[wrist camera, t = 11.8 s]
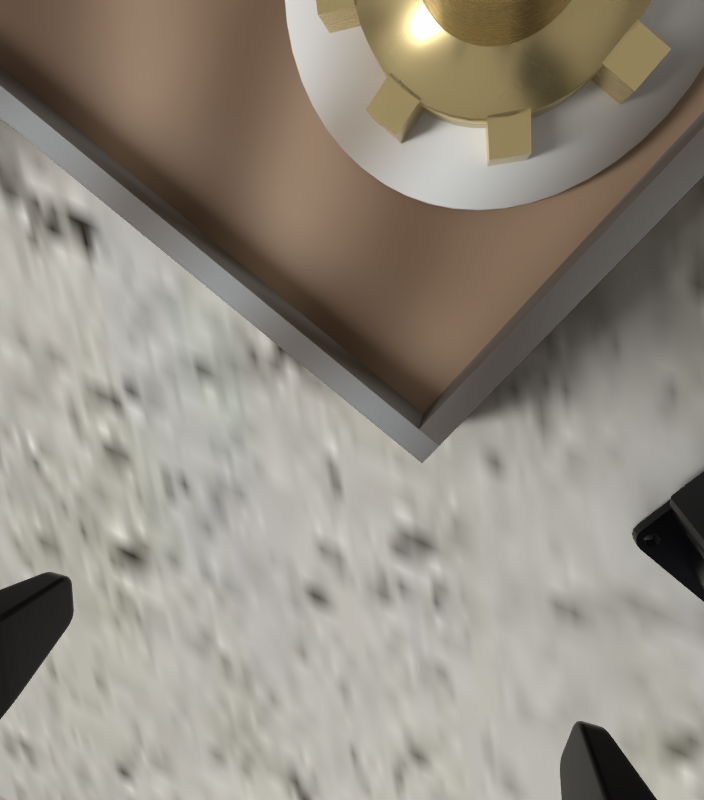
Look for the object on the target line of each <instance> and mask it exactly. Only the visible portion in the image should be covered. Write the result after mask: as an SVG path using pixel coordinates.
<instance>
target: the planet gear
mask: <svg viewBox="0 0 704 800" xmlns="http://www.w3.org/2000/svg"><path fill="white" fill-rule="evenodd" d="M650 2H651V0H316V4H317V12H318V16H319V17H320V19H321V20H322V22H323V23H324V25H325V26H326V28H327V30H328V31H329V33H334V32H338V31H342V30H346V29H350V28H354V27H359V26H361V28H362V30H363V32H364V35H365V37H366V40H367V42H368V44H369V46H370V48H371V50H372V52H373V54H374V56H375V58H376V60H377V62H378V64H379V65H380V67H381V69H382V71H383V72H384V74H385V76H386V77H387V78H386V80H385V81H384V83H383V84H382V86H381V87H380V89H379V90H378V92H377V93H376V95H375V96H374V98H373V99H372V101H371V103H370V104H369V106H368V107H367V109H366V111H367V112H368V114H369V115H370V116H371V117H372V119H373V120H374V121H375V122H376V123H378V124H379V125H380V126H381V127H382V128H384V129H385V130H386V131H387V132H388V133H389V134H391V135H392V136H393V137H394V138H395V139H397V140H398V141H399V142H400V143H401V144H402V142H403V141H404V139H405V138H406V136H407V135H408V134H409V132H410V131H411V129H412V128H413V127H414V125H415V124H416V122H417V121H418V119H419V118H420V117H421V115H422V114H423V112H424V113H426V114H428V115H430V116H432V117H433V118H435V119H437V120H440V121H443V122H446V123H449V124H452V125H457V126H462V127H468V128H486V150H487V166H493V165H500V164H506V163H512V162H518V161H524V160H527V158H528V157H529V156H530V155H531V153H532V149H531V119H532V118H535V117H537V116H540V115H542V114H544V113H546V112H548V111H549V110H551V109H553V108H555V107H557V106H559V105H560V104H562V103H563V102H564V101H566V100H567V99H569V98H570V97H572V96H573V95H574V94H576V93H577V92H578V91H579V90H581V89H582V88H583V87H584V86H585V85H586V84H587V83H588V82H590V81H591V80H592V81H593V82H594V83H595V84H597V85H598V86H599V87H600V88H601V89H602V90H604V91H605V92H606V93H607V94H608V95H609V96H610V97H612V98H613V99H614V100H615V101H616V102H617V103H619V104H621V103H622V102H623V101H624V100H625V99H626V98H628V97H629V96H630V95H631V94H632V93H634V92H635V91H636V89H637V88H638V87H639V86H640V85H641V84H642V82H643V81H644V80H645V79H646V78H647V77H648V75H649V74H650V73H651V72H652V71H653V70H654V68H655V67H656V66H657V65H658V64H659V63H660V61H661V60H662V59H663V58H664V57H665V56H666V54H667V53H668V52H669V51H670V50H671V48H670V47H669V46H667V45H666V44H665V43H664V42H663V41H662V40H661V39H659V38H658V37H657V36H656V35H655V34H654V33H653V32H651V31H650V30H649V29H648V28H647V27H646V26H645V25H643V24H642V23H641V22H640V19H641V17H642V16H643V14H644V12H645V10H646V9H647V7H648V5H649V4H650Z"/></svg>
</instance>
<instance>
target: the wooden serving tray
mask: <svg viewBox="0 0 704 800" xmlns="http://www.w3.org/2000/svg"><path fill="white" fill-rule="evenodd" d="M640 22H641V23H642V24H643V25H645V26H646V27H647V28H648V29H649V30H650V31H651V32H653V33H654V34H655V35H656V36H657V37H658V38H659V39H661V40H662V41H663V42H664V43H665V44H666V45H667V46H669V47H670V48H671V50H670V51H669V52H668V53H667V54H666V56H665V57H664V58H663V59H662V60H661V61H660V63H659V64H658V65H657V66H656V67H655V68H654V70H653V71H652V72H651V73H650V74H649V75H648V77H647V78H646V79H645V80H644V81H643V82H642V84H641V85H640V86H639V87H638V88H637V89H636V91H635V92H634V93H632V94H631V95H630V96H629V97H628V98H626V99H625V100H624V101H623V102H622V103H621V104H619V103H617V102H616V101H615V100H614V99H613V98H612V97H610V96H609V95H608V94H607V93H606V92H605V91H604V90H602V89H601V88H600V87H599V86H598V85H597V84H595V83H594V82H593V81H592V80H591V81H590V82H588V83H587V84H586V85H585V86H584V87H583V88H582V89H581V90H579V91H578V92H577V93H576V94H574V95H573V96H572V97H570V98H569V99H567V100H566V101H564V102H563V103H562V104H560V105H559V106H557V107H555V108H553V109H551V110H549V111H548V112H546V113H544V114H542V115H540V116H537V117H535V118H532V119H531V149H532V153H531V155H530V156H529V157H528V158H527V160H524V161H518V162H512V163H506V164H500V165H493V166H487V150H486V128H468V127H462V126H457V125H452V124H449V123H446V122H443V121H440V120H437V119H435V118H433V117H432V116H430V115H428V114H426V113H424V112H423V114H422V115H421V117H420V118H419V119H418V121H417V122H416V124H415V125H414V127H413V128H412V129H411V131H410V132H409V134H408V135H407V136H406V138H405V139H404V141H403V142H402V144H401V143H400V142H399V141H398V140H397V139H395V138H394V137H393V136H392V135H391V134H389V133H388V132H387V131H386V130H385V129H384V128H382V127H381V126H380V125H379V124H378V123H376V122H375V121H374V120H373V119H372V117H371V116H370V115H369V114H368V112H367V111H366V109H367V107H368V106H369V104H370V103H371V101H372V99H373V98H374V96H375V95H376V93H377V92H378V90H379V89H380V87H381V86H382V84H383V83H384V81H385V80H386V78H387V77H386V76H385V74H384V72H383V71H382V69H381V67H380V65H379V64H378V62H377V60H376V58H375V56H374V54H373V52H372V50H371V48H370V46H369V44H368V42H367V40H366V37H365V35H364V32H363V30H362V28H361V26H359V27H354V28H350V29H346V30H342V31H338V32H334V33H329V31H328V30H327V28H326V26H325V25H324V23H323V22H322V20H321V19H320V17H319V16H318V12H317V4H316V0H0V118H1V119H3V120H4V121H5V122H6V123H7V124H9V125H10V126H11V127H12V128H14V129H15V130H16V131H17V132H18V133H20V134H21V135H22V136H23V137H25V138H26V139H27V140H28V141H29V142H31V143H32V144H33V145H34V146H36V147H37V148H38V149H39V150H40V151H42V152H43V153H44V154H45V155H46V156H48V157H49V158H50V159H51V160H53V161H54V162H55V163H56V164H57V165H59V166H60V167H61V168H62V169H64V170H65V171H66V172H67V173H68V174H70V175H71V176H72V177H73V178H75V179H76V180H77V181H78V182H79V183H81V184H82V185H83V186H84V187H86V188H87V189H88V190H89V191H90V192H92V193H93V194H94V195H95V196H97V197H98V198H99V199H100V200H101V201H103V202H104V203H105V204H106V205H108V206H109V207H110V208H111V209H112V210H114V211H115V212H116V213H117V214H119V215H120V216H121V217H122V218H123V219H125V220H126V221H127V222H128V223H129V224H131V225H132V226H133V227H134V228H136V229H137V230H138V231H139V232H140V233H142V234H143V235H144V236H145V237H147V238H148V239H149V240H150V241H151V242H153V243H154V244H155V245H156V246H158V247H159V248H160V249H161V250H162V251H164V252H165V253H166V254H167V255H169V256H170V257H171V258H172V259H173V260H175V261H176V262H177V263H178V264H180V265H181V266H182V267H183V268H184V269H186V270H187V271H188V272H189V273H191V274H192V275H193V276H194V277H195V278H197V279H198V280H199V281H200V282H202V283H203V284H204V285H205V286H206V287H208V288H209V289H210V290H211V291H212V292H214V293H215V294H216V295H217V296H219V297H220V298H221V299H222V300H223V301H225V302H226V303H227V304H228V305H230V306H231V307H232V308H233V309H234V310H236V311H237V312H238V313H239V314H241V315H242V316H243V317H244V318H245V319H247V320H248V321H249V322H250V323H252V324H253V325H254V326H255V327H256V328H258V329H259V330H260V331H261V332H263V333H264V334H265V335H266V336H267V337H269V338H270V339H271V340H272V341H274V342H275V343H276V344H277V345H278V346H280V347H281V348H282V349H283V350H285V351H286V352H287V353H288V354H289V355H291V356H292V357H293V358H294V359H295V360H297V361H298V362H299V363H300V364H302V365H303V366H304V367H305V368H306V369H308V370H309V371H310V372H311V373H313V374H314V375H315V376H316V377H317V378H319V379H320V380H321V381H322V382H324V383H325V384H326V385H327V386H328V387H330V388H331V389H332V390H333V391H335V392H336V393H337V394H338V395H339V396H341V397H342V398H343V399H344V400H346V401H347V402H348V403H349V404H350V405H352V406H353V407H354V408H355V409H357V410H358V411H359V412H360V413H361V414H363V415H364V416H365V417H366V418H368V419H369V420H370V421H371V422H372V423H374V424H375V425H376V426H377V427H378V428H380V429H381V430H382V431H383V432H385V433H386V434H387V435H388V436H389V437H391V438H392V439H393V440H394V441H396V442H397V443H398V444H399V445H400V446H402V447H403V448H404V449H405V450H407V451H408V452H409V453H410V454H411V455H413V456H414V457H415V458H416V459H418V460H419V461H420V462H421V463H423V462H424V461H425V460H426V459H427V458H428V457H429V456H430V455H431V454H432V453H433V451H434V450H435V449H436V448H437V447H438V446H439V445H440V444H441V443H442V442H443V441H444V440H445V439H446V438H447V437H448V436H449V435H450V434H451V433H452V432H453V431H454V430H455V429H456V428H457V427H458V426H459V425H460V424H461V423H462V422H463V421H464V420H465V419H466V418H467V417H468V416H469V415H470V414H471V413H472V412H473V411H474V410H475V409H476V408H477V407H478V406H479V405H480V404H481V402H482V401H483V400H484V399H485V398H486V397H487V396H488V395H489V394H490V393H491V392H492V391H493V390H494V389H495V388H496V387H497V386H498V385H499V384H500V383H501V382H502V381H503V380H504V379H505V378H506V377H507V376H508V375H509V374H510V373H511V372H512V371H513V370H514V369H515V368H516V367H517V366H518V365H519V364H520V363H521V362H522V361H523V360H524V359H525V358H526V357H527V356H528V355H529V353H530V352H531V351H532V350H533V349H534V348H535V347H536V346H537V345H538V344H539V343H540V342H541V341H542V340H543V339H544V338H545V337H546V336H547V335H548V334H549V333H550V332H551V331H552V330H553V329H554V328H555V327H556V326H557V325H558V324H559V323H560V322H561V321H562V320H563V319H564V318H565V317H566V316H567V315H568V314H569V313H570V312H571V311H572V310H573V309H574V308H575V307H576V306H577V304H578V303H579V302H580V301H581V300H582V299H583V298H584V297H585V296H586V295H587V294H588V293H589V292H590V291H591V290H592V289H593V288H594V287H595V286H596V285H597V284H598V283H599V282H600V281H601V280H602V279H603V278H604V277H605V276H606V275H607V274H608V273H609V272H610V271H611V270H612V269H613V268H614V267H615V266H616V265H617V264H618V263H619V262H620V261H621V260H622V259H623V258H624V257H625V256H626V254H627V253H628V252H629V251H630V250H631V249H632V248H633V247H634V246H635V245H636V244H637V243H638V242H639V241H640V240H641V239H642V238H643V237H644V236H645V235H646V234H647V233H648V232H649V231H650V230H651V229H652V228H653V227H654V226H655V225H656V224H657V223H658V222H659V221H660V220H661V219H662V218H663V217H664V216H665V215H666V214H667V213H668V212H669V211H670V210H671V209H672V208H673V207H674V205H675V204H676V203H677V202H678V201H679V200H680V199H681V198H682V197H683V196H684V195H685V194H686V193H687V192H688V191H689V190H690V189H691V188H692V187H693V186H694V185H695V184H696V183H697V182H698V181H699V180H700V179H701V178H702V177H703V176H704V0H651V2H650V4H649V5H648V7H647V9H646V10H645V12H644V14H643V16H642V17H641V19H640Z"/></svg>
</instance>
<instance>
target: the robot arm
mask: <svg viewBox="0 0 704 800" xmlns="http://www.w3.org/2000/svg"><path fill="white" fill-rule="evenodd" d="M649 534H655V537H654V538H653V539H651V540H644V537H645V536H646V535H649ZM632 535H633V539H634V541H635V543H636V544H637V546H638V547H639V548H640V549H641V550H642V551H643V552H644V553H646V554H647V555H648V556H649V557H650V558H652V559H653V560H654V561H655V562H656V563H658V564H659V565H660V566H661V567H662V568H664V569H665V570H666V571H667V572H668V573H670V574H671V575H672V576H673V577H675V578H676V579H677V580H678V581H679V582H681V583H682V584H683V585H684V586H685V587H687V588H688V589H689V590H690V591H691V592H693V593H694V594H695V595H696V596H697V597H699V598H700V599H701V600H702V601H704V471H703V472H702V473H701V474H700V475H698V476H697V477H696V478H694V479H693V480H692V481H690V482H689V483H688V484H686V485H685V486H684V487H683V488H681V489H680V490H679V491H677V492H676V493H675V494H673V495H672V496H671V500H669V501H668V502H667V503H665V504H664V505H663V506H661V507H660V508H659V509H658V510H656V511H655V512H654V513H652V514H651V515H650V516H648V517H647V518H646V519H644V520H643V521H642V522H640V523H639V524H638V525H637V526H636V527H635V528H634V529H633V533H632ZM73 612H74V608H73V594H72V582H71V580H70V578H69V577H67V576H64V575H60V574H57V573H53V572H46V573H43V574H40V575H38V576H35V577H32V578H30V579H27V580H25V581H22V582H19V583H17V584H14V585H12V586H9V587H6V588H4V589H1V590H0V719H1V718H2V716H3V715H4V714H5V713H6V711H7V710H8V709H9V708H10V707H11V705H12V704H13V703H14V701H15V700H16V699H17V697H18V696H19V695H20V693H21V692H22V691H23V689H24V688H25V686H26V685H27V684H28V682H29V681H30V679H31V678H32V676H33V675H34V674H35V672H36V671H37V669H38V668H39V667H40V665H41V664H42V662H43V661H44V660H45V658H46V657H47V655H48V654H49V653H50V651H51V650H52V648H53V647H54V646H55V644H56V643H57V641H58V640H59V638H60V637H61V636H62V634H63V633H64V631H65V630H66V629H67V627H68V626H69V624H70V622H71V620H72V617H73ZM560 779H561V794H562V800H657V799H656V798H655V796H654V795H653V793H652V792H651V791H650V789H649V788H648V787H647V785H646V784H645V782H644V781H643V780H642V778H641V777H640V775H639V774H638V773H637V771H636V770H635V769H634V767H633V766H632V764H631V763H630V762H629V760H628V759H627V757H626V756H625V755H624V753H623V752H622V751H621V749H620V748H619V746H618V745H617V744H616V742H615V741H614V739H613V738H612V737H611V735H610V734H609V733H608V732H607V731H606V730H605V729H604V728H602V727H600V726H597V725H593V724H590V723H586V722H582V721H578V722H576V723H575V724H574V726H573V728H572V731H571V733H570V736H569V738H568V741H567V743H566V746H565V748H564V751H563V754H562V757H561V762H560Z"/></svg>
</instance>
